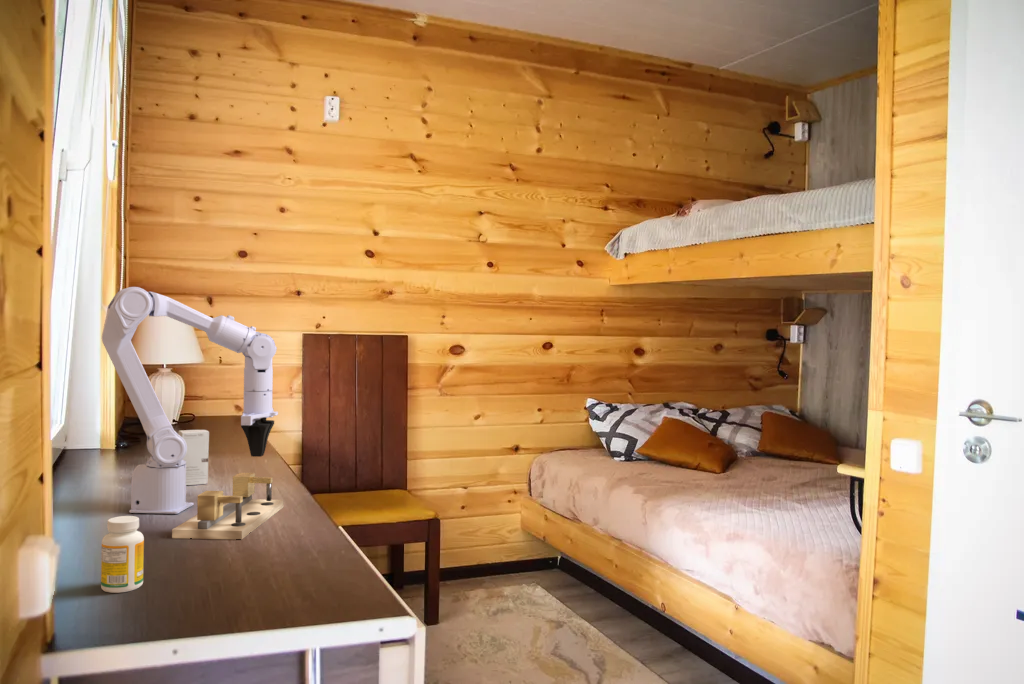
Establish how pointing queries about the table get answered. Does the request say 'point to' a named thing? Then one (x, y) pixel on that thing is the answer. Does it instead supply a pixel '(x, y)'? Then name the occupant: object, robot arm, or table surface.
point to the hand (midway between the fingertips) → (257, 455)
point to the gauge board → (226, 516)
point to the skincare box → (196, 455)
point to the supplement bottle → (122, 555)
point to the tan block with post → (250, 485)
